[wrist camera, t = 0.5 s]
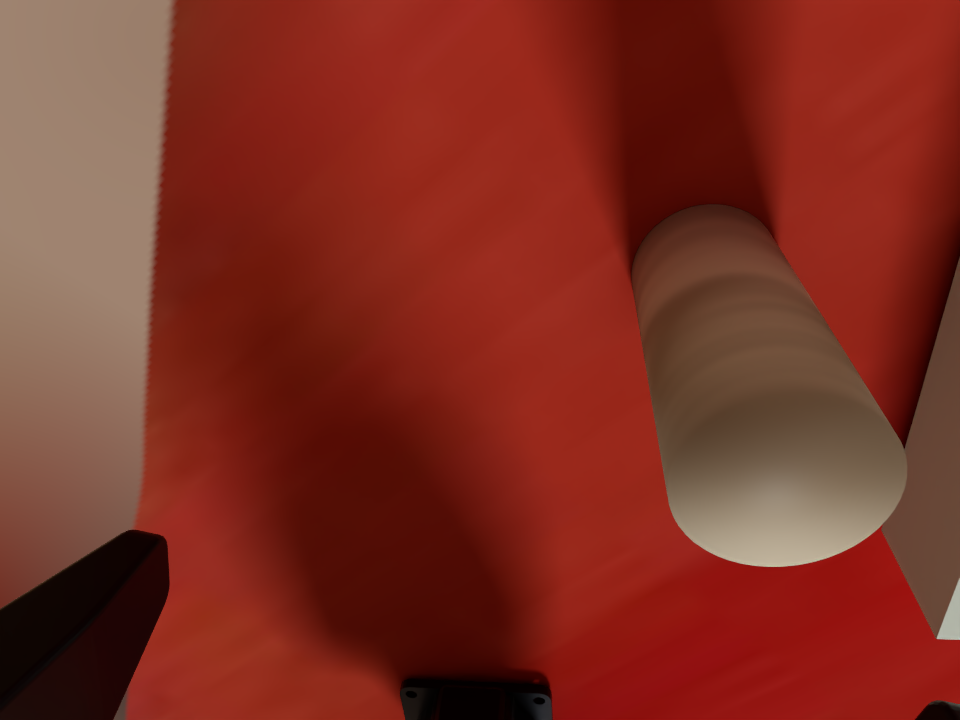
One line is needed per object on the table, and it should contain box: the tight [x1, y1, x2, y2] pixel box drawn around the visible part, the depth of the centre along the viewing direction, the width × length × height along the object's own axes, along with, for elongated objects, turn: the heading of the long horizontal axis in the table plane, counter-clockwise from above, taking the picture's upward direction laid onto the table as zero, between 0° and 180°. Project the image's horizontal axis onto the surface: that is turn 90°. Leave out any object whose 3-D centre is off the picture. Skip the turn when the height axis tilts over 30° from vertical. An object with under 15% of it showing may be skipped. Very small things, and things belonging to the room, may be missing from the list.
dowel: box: [631, 204, 907, 567], centre depth 17 cm, size 4×4×9 cm
